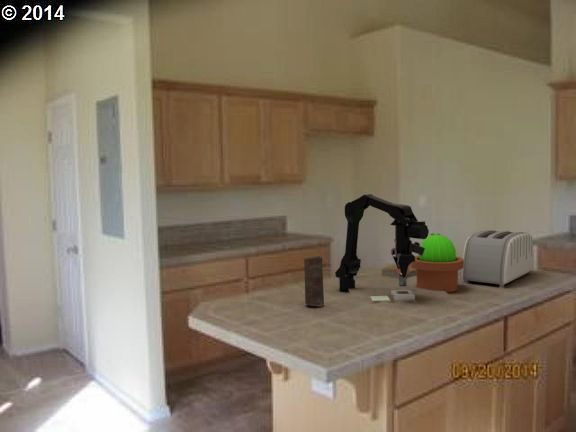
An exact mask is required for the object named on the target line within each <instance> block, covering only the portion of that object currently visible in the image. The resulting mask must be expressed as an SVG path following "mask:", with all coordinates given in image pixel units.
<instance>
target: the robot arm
mask: <svg viewBox="0 0 576 432" xmlns="http://www.w3.org/2000/svg"><path fill="white" fill-rule="evenodd" d="M369 207H372V208H374V209H377V210H379V211H382V212H384V213H386V214H388V215H389V217H391V218H392V219H394V220H393V221H391V223H390V226H394V229H395V231H394V233H395V234H394V236H395V238H394V239H393V240H394V244H395V247H393V248H392V249H391V250H390V255H392V259H393V261H394V263H395V265H396V266H397V268H399V269H400V271H401V274H402V277H406V274H407V270H408V266H409V264H410V263H412V262H415V256H416V255H418V256H419V255H421V256H423V253H424V250H425V248H424V247H422V246H421V242H418V241H414V242H413V241H412V240H411V239H416V240H417V239H419V240H425V239H426V238H427V237H429V228H428V225H427V224H426V220H425V221H424V220H423V221H419V220H418V218H417V216H415V214H414V212H413V209H412V206H410V205H407V204H400V203H393V202H391V201H388V200H385V199H383V198H380V197H377V196H375V195H373V194H372V193H371V194H370V193H369V194H363V195H361V196H360V197H358V198H356V199H354V200H352V201H348V202H347V203H345V205H344V216H345V218H346V221H347V227H346V239H345V240H346V241H345V248H344V249H345V251H344V252H345V253H344V255H343V256H342V258H341V260H340V264H339V268H338V269H337V270H336V271H335V272H334V274H335V278H338V291H339V292H341V293H347V292H350V290H349V289H356V280H355V277H356V276H357V275H358V273H359V271H360V268H361V262H362V259H361V258H359V257H358V255H357V250H358V242H359V241H358V239H359V227H360V226H359V225H360V222H361V221H362V218H364V217H363V216H364V213H365V210H367V209H368V208H369ZM413 253H415V254H416V255H414V254H413Z"/></svg>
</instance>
